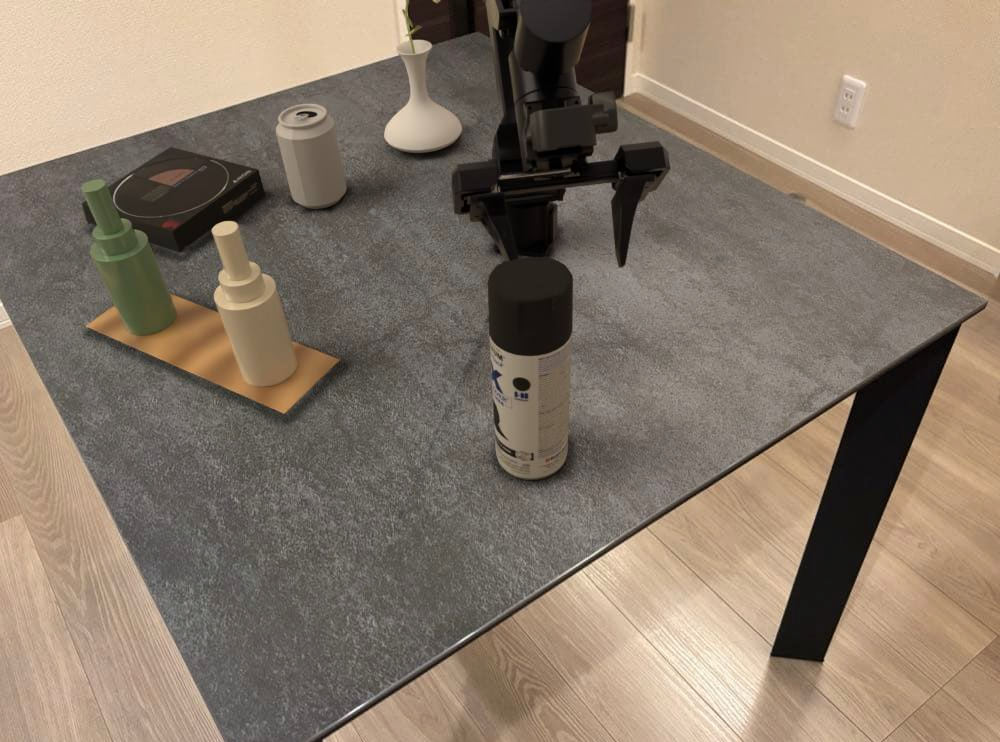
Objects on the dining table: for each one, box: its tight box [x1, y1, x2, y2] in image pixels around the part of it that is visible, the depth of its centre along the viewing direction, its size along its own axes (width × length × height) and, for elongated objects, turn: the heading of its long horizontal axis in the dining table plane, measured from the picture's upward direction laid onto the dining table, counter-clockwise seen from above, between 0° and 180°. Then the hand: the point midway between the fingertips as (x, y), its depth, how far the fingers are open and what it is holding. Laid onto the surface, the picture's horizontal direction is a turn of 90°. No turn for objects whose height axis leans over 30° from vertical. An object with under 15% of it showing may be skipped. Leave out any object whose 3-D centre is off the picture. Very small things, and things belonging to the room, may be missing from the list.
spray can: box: [487, 255, 574, 481], centre depth 70 cm, size 7×7×20 cm
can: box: [275, 103, 347, 210], centre depth 108 cm, size 8×8×12 cm
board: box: [85, 293, 341, 415], centre depth 91 cm, size 30×9×1 cm, turn 58°
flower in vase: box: [383, 0, 463, 154], centre depth 113 cm, size 13×11×25 cm
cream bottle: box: [211, 220, 298, 387], centre depth 81 cm, size 6×6×17 cm
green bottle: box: [80, 178, 177, 336], centre depth 88 cm, size 6×6×17 cm
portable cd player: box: [81, 146, 266, 253], centre depth 111 cm, size 16×17×4 cm
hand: (570, 272), depth 72 cm, fingers open, 9 cm apart
